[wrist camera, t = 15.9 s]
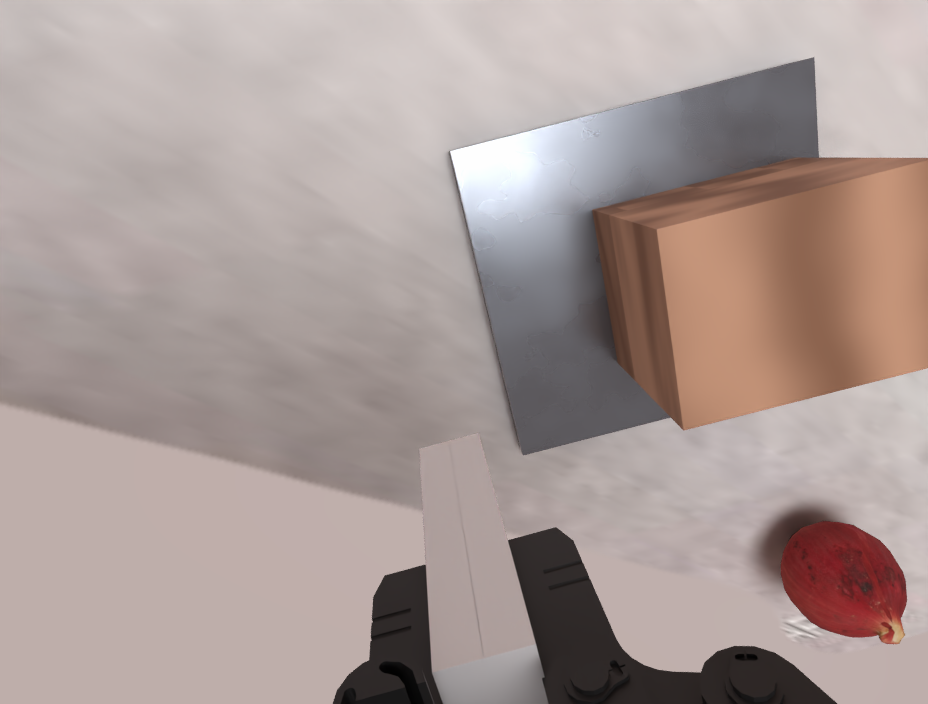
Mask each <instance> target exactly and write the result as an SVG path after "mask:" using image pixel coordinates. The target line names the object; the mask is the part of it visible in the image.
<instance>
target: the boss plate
mask: <svg viewBox="0 0 928 704" xmlns="http://www.w3.org/2000/svg"><path fill="white" fill-rule="evenodd" d="M449 153H450V158H451V162H452V166H453V170H454V174H455V178H456V183H457V187H458V191H459V195H460V199H461V203H462V208H463V212H464V216H465V220H466V224H467V229H468V233H469V237H470V241H471V245H472V249H473V254H474V258H475V262H476V266H477V270H478V274H479V279H480V283H481V287H482V291H483V295H484V300H485V304H486V308H487V312H488V316H489V320H490V325H491V329H492V333H493V337H494V341H495V346H496V350H497V354H498V358H499V362H500V366H501V371H502V375H503V379H504V383H505V387H506V391H507V396H508V400H509V404H510V408H511V412H512V417H513V421H514V425H515V429H516V433H517V437H518V442H519V446H520V448H521V451H522V454H523V455H526V454H530V453H534V452H538V451H542V450H546V449H549V448H553V447H557V446H561V445H565V444H569V443H573V442H577V441H581V440H584V439H588V438H592V437H596V436H600V435H604V434H608V433H612V432H616V431H619V430H623V429H627V428H631V427H635V426H639V425H643V424H647V423H651V422H654V421H658V420H662V419H666V418H670V416H669V415H668V414H667V413H666V412H665V411H664V410H663V409H662V408H661V407H660V406H659V405H658V404H657V403H656V402H655V401H654V400H653V399H652V398H651V397H650V396H649V395H648V394H647V393H646V392H645V390H644V389H643V388H642V387H641V386H640V385H639V384H638V383H637V382H636V381H635V380H634V379H633V378H632V377H631V376H630V375H629V374H628V373H627V372H626V371H625V370H624V369H623V368H622V367H621V366H620V365H619V364H618V362H617V356H616V350H615V344H614V338H613V332H612V326H611V320H610V314H609V308H608V302H607V296H606V290H605V284H604V278H603V272H602V266H601V260H600V254H599V248H598V242H597V236H596V230H595V224H594V218H593V212H592V210H593V209H597V208H601V207H605V206H609V205H613V204H617V203H621V202H624V201H628V200H632V199H636V198H640V197H644V196H648V195H652V194H656V193H660V192H664V191H667V190H671V189H675V188H679V187H683V186H687V185H691V184H695V183H699V182H703V181H706V180H710V179H714V178H718V177H722V176H726V175H730V174H734V173H738V172H742V171H745V170H749V169H753V168H757V167H761V166H765V165H769V164H773V163H777V162H781V161H785V160H788V159H792V158H819V153H818V131H817V109H816V87H815V65H814V57H813V58H809V59H805V60H801V61H797V62H793V63H789V64H786V65H782V66H778V67H774V68H770V69H766V70H762V71H759V72H755V73H751V74H747V75H743V76H739V77H735V78H732V79H728V80H724V81H720V82H716V83H712V84H708V85H704V86H701V87H697V88H693V89H689V90H685V91H681V92H677V93H674V94H670V95H666V96H662V97H658V98H654V99H650V100H647V101H643V102H639V103H635V104H631V105H627V106H623V107H619V108H616V109H612V110H608V111H604V112H600V113H596V114H592V115H589V116H585V117H581V118H577V119H573V120H569V121H565V122H562V123H558V124H554V125H550V126H546V127H542V128H538V129H534V130H531V131H527V132H523V133H519V134H515V135H511V136H507V137H504V138H500V139H496V140H492V141H488V142H484V143H480V144H477V145H473V146H469V147H465V148H461V149H457V150H453V151H449Z"/></svg>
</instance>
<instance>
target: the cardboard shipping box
mask: <svg viewBox="0 0 928 704" xmlns="http://www.w3.org/2000/svg"><path fill="white" fill-rule="evenodd" d="M592 212H593V218H594V224H595V230H596V236H597V242H598V248H599V254H600V260H601V266H602V272H603V278H604V284H605V290H606V296H607V302H608V308H609V314H610V320H611V326H612V332H613V338H614V344H615V350H616V356H617V362H618V364H619V365H620V366H621V367H622V368H623V369H624V370H625V371H626V372H627V373H628V374H629V375H630V376H631V377H632V378H633V379H634V380H635V381H636V382H637V383H638V384H639V385H640V386H641V387H642V388H643V389H644V390H645V392H646V393H647V394H648V395H649V396H650V397H651V398H652V399H653V400H654V401H655V402H656V403H657V404H658V405H659V406H660V407H661V408H662V409H663V410H664V411H665V412H666V413H667V414H668V415H669V416H670V417H671V418H672V419H673V420H674V421H675V422H676V423H677V424H678V425H679V426H680V427H681V428H682V429H683V430H687V429H691V428H695V427H699V426H703V425H707V424H711V423H715V422H718V421H722V420H726V419H730V418H734V417H738V416H742V415H746V414H750V413H754V412H758V411H762V410H765V409H769V408H773V407H777V406H781V405H785V404H789V403H793V402H797V401H801V400H805V399H809V398H812V397H816V396H820V395H824V394H828V393H832V392H836V391H840V390H844V389H848V388H852V387H856V386H859V385H863V384H867V383H871V382H875V381H879V380H883V379H887V378H891V377H895V376H899V375H903V374H906V373H910V372H914V371H918V370H922V369H926V368H928V158H792V159H788V160H785V161H781V162H777V163H773V164H769V165H765V166H761V167H757V168H753V169H749V170H745V171H742V172H738V173H734V174H730V175H726V176H722V177H718V178H714V179H710V180H706V181H703V182H699V183H695V184H691V185H687V186H683V187H679V188H675V189H671V190H667V191H664V192H660V193H656V194H652V195H648V196H644V197H640V198H636V199H632V200H628V201H624V202H621V203H617V204H613V205H609V206H605V207H601V208H597V209H593V210H592Z"/></svg>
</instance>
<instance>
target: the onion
mask: <svg viewBox="0 0 928 704" xmlns="http://www.w3.org/2000/svg"><path fill="white" fill-rule="evenodd" d="M781 577H782V581H783V585H784V589H785V591H786V593H787V594H788V596H789V598H790V600H791V601H792V602H793V603H794V605H795V606H796V607H797V608H798V609H799V610H800V612H801V613H802V614H803V615H804V616H805V617H806V618H807V619H808V620H809V621H810V622H811V623H813V624H815V625H817V626H818V627H820V628H822V629H825V630H828V631H830V632H833V633H837V634H840V635H844V636H848V637H872V636H876V635H879V638H880V640H881V641H882V642H883V643H886V644H899V643H900V641H901V639H902V638H903V637H904V636H905V634H904V631H903V627H902V623H901V619H900V618H901V617H902V615H903V612H904V610H905V607H906V602H907V594H906V581H905V578H904V574H903V571H902V570H901V568H900V567H899V565H898V563H897V562H896V560H895V559H894V557H893V555H892V554H891V552H890V551H889V550H888V549H887V547H886V546H885V545H884V544H883V543H882V542H881V541H880V540H878V539H877V538H875V537H873V536H871V535H870V534H868V533H866V532H865V531H863V530H861V529H859V528H857V527H855V526H854V525H850V524H845V523H840V522H830V521H822V522H818V523H815V524H812V525H809V526H805V527H802V528H801V529H800V530H799V531H797V532H796V533H795V534H794V535H792V537H791V538H790V540H789V542H788V543H787V545H786V547H785V549H784V551H783V556H782V561H781Z"/></svg>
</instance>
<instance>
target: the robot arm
mask: <svg viewBox="0 0 928 704" xmlns="http://www.w3.org/2000/svg"><path fill="white" fill-rule="evenodd" d="M419 455H420V472H421V490H422V507H423V523H424V541H425V559H426V565H422V566H418V567H415V568H411V569H408V570H404V571H400V572H397V573H393V574H389V575H385V576H384V578H383V580H382V582H381V584H380V586H379V587H378V589H377V591H376V593H375V595H374V597H373V611H372V612H373V613H372V621H373V623H372V627H371V639H372V641H371V643H370V658H369V661H367V662H365V663H363V664H362V665H360V666H359V667H358V668H356V669H355V670H354V671H353V672H351V674H349V675H348V676H347V678H346V679H345V680H344V682H343V683H342V684H341V686H340V687H339V689H338V690H337V692H336V695H335V699H334V702H333V704H837V703H836V702H835V701H833V700H832V699H831V698H830V697H829V696H828V695H827V694H826V693H825V692H823V691H822V690H821V689H820V688H819V687H818V686H817V685H815V684H814V683H813V682H812V681H811V680H810V679H809V678H807V677H806V676H805V675H804V674H803V673H802V672H801V671H800V670H799V669H797V668H796V667H795V666H794V665H793V664H791V663H790V662H788V661H787V660H785V659H784V658H782V657H780V656H779V655H777V654H776V653H774V652H770V651H767V650H764V649H761V648H758V647H754V646H751V647H750V646H733V647H730V648H727V649H724V650H721V651H717V652H716V653H715V654H714V655H713V656H712V657H710V658H709V659H708V660H707V661H706V662H705V663H704V666H703V669H702V671H701V673H694V672H670V671H663V670H657V669H654V668H651V667H648V666H645V665H643V664H641V663H639V662H638V661H636V660H634V659H632V658H631V657H630V656H629V655H628V654H627V653H626V652H625V651H624V650H623V649H622V648H621V646H620V644H619V643H618V641H617V640H616V637H615V635H614V633H613V631H612V629H611V626H610V624H609V622H608V619H607V617H606V615H605V612H604V610H603V608H602V606H601V603H600V601H599V599H598V596H597V594H596V592H595V589H594V587H593V585H592V583H591V580H590V579H589V576H588V573H587V571H586V569H585V567H584V564H583V563H582V560H581V557H580V555H579V553H578V550H577V548H576V546H575V544H574V541H573V540H572V539H570V538H569V537H568V536H567V535H565V534H564V533H563V532H561V531H560V530H559V529H558V528H556V527H555V528H552V529H548V530H544V531H541V532H537V533H533V534H530V535H526V536H522V537H518V538H515V539H511V540H508V539H507V535H506V532H505V528H504V524H503V521H502V517H501V513H500V509H499V506H498V502H497V498H496V495H495V491H494V487H493V484H492V480H491V476H490V472H489V469H488V465H487V461H486V458H485V454H484V450H483V447H482V443H481V439H480V436H479V433H475V434H471V435H468V436H464V437H460V438H456V439H453V440H449V441H445V442H442V443H438V444H434V445H430V446H427V447H423V448H419Z"/></svg>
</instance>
